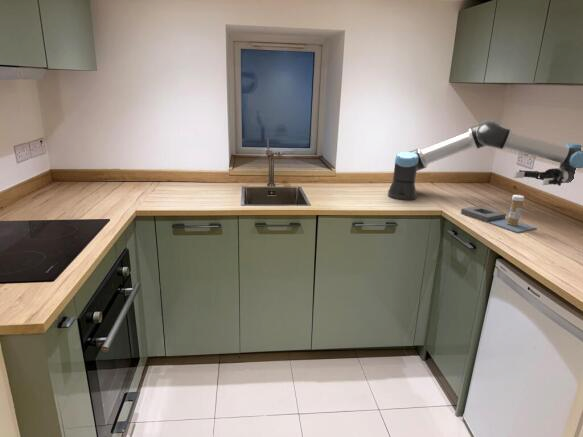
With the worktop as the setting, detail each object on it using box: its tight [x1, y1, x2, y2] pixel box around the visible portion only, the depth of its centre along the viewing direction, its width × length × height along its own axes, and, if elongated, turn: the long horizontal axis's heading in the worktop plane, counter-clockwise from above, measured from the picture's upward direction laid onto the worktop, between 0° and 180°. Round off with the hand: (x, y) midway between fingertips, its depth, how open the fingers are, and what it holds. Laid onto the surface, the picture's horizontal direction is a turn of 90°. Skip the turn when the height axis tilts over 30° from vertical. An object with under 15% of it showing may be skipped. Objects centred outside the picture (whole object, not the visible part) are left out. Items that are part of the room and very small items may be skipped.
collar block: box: [460, 205, 507, 223], centre depth 196 cm, size 14×14×2 cm
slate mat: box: [487, 217, 537, 234], centre depth 184 cm, size 14×14×1 cm
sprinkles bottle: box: [507, 194, 525, 226], centre depth 181 cm, size 5×5×13 cm
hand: (529, 178), depth 188 cm, fingers open, 13 cm apart
